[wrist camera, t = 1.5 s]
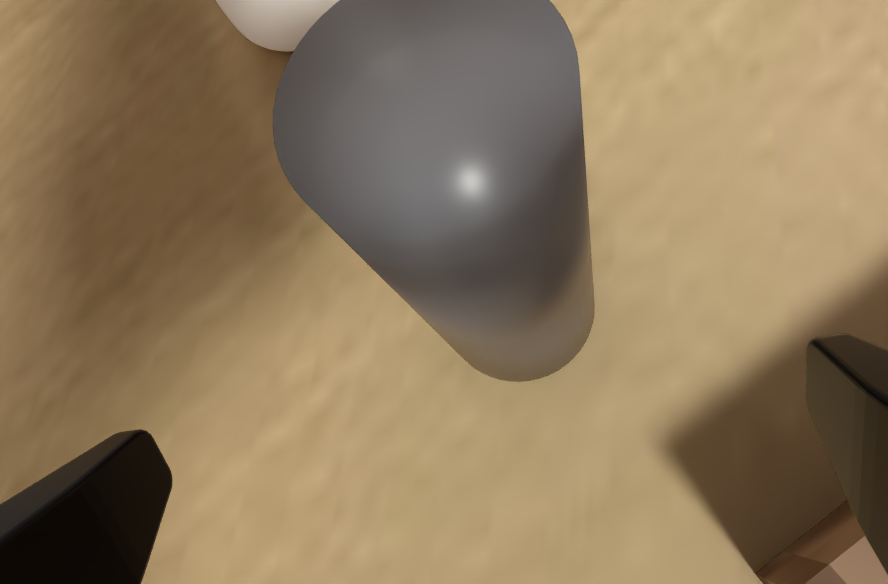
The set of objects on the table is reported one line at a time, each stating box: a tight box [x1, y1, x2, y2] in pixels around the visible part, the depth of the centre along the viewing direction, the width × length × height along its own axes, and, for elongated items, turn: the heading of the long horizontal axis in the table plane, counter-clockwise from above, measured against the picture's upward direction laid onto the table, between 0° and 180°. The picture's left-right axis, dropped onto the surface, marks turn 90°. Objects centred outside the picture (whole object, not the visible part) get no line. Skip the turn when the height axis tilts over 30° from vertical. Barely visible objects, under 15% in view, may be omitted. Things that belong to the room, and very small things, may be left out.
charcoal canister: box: [273, 0, 594, 382], centre depth 16 cm, size 5×5×12 cm
